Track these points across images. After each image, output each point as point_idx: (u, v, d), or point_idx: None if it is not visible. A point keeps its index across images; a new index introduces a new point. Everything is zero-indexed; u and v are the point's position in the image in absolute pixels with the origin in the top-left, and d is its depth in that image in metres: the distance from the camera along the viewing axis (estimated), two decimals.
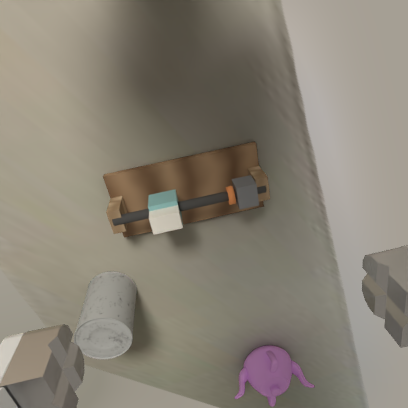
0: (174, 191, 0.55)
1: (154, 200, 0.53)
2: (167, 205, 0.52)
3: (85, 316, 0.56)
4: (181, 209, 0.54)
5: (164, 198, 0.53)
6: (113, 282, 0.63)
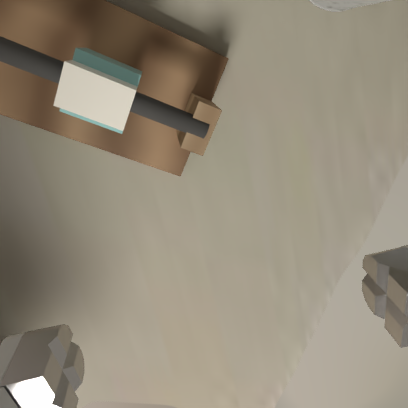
0: None
1: None
2: None
3: None
4: None
5: None
6: None
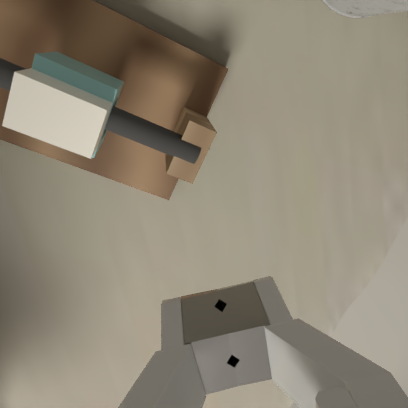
0: None
1: None
2: None
3: None
4: None
5: None
6: None
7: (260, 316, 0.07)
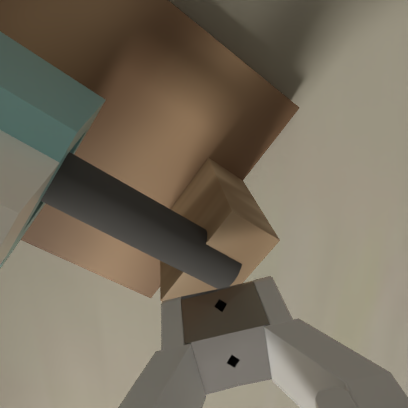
0: None
1: None
2: None
3: None
4: None
5: None
6: None
7: (260, 316, 0.07)
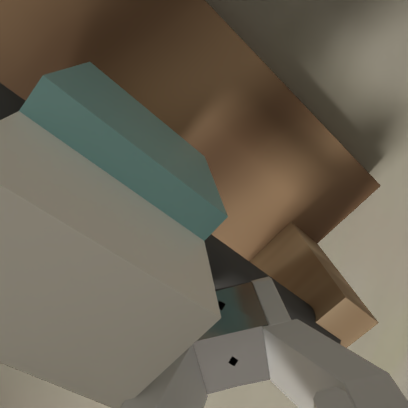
0: None
1: None
2: None
3: None
4: None
5: None
6: None
7: (258, 316, 0.07)
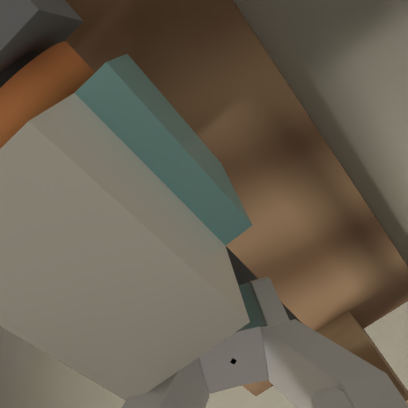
0: None
1: None
2: None
3: None
4: None
5: None
6: None
7: (257, 317, 0.07)
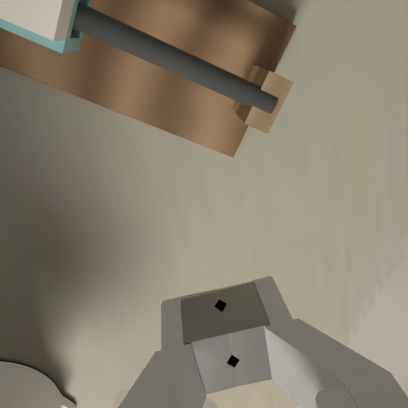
0: None
1: None
2: (12, 23, 0.20)
3: None
4: (129, 36, 0.22)
5: None
6: None
7: (260, 316, 0.07)
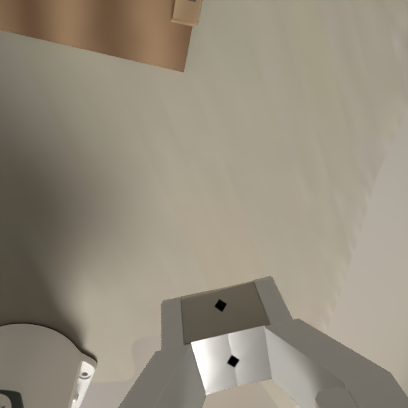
0: None
1: None
2: None
3: None
4: None
5: None
6: None
7: (260, 316, 0.07)
